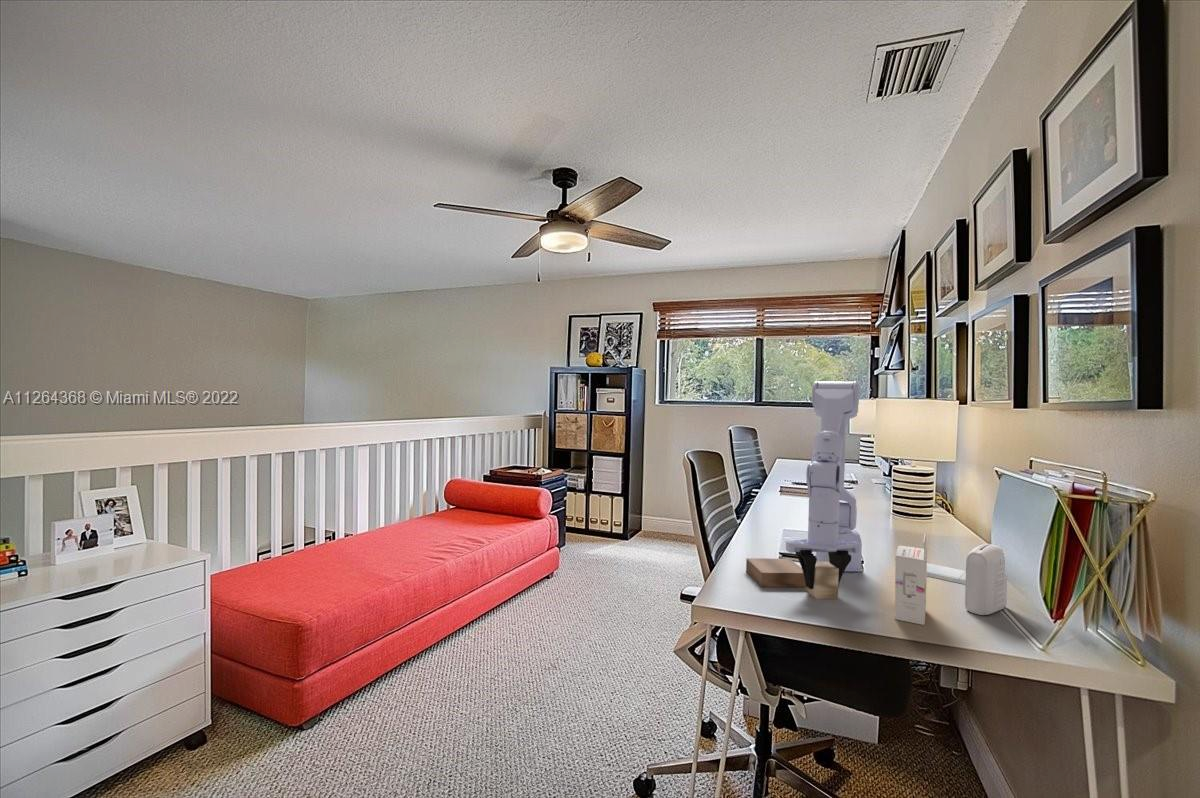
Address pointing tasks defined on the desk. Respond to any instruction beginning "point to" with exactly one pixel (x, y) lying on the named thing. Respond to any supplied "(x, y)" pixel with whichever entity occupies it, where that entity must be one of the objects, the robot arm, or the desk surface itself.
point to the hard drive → (946, 573)
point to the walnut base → (775, 572)
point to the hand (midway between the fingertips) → (821, 587)
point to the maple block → (825, 581)
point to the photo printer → (985, 580)
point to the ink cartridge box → (911, 583)
